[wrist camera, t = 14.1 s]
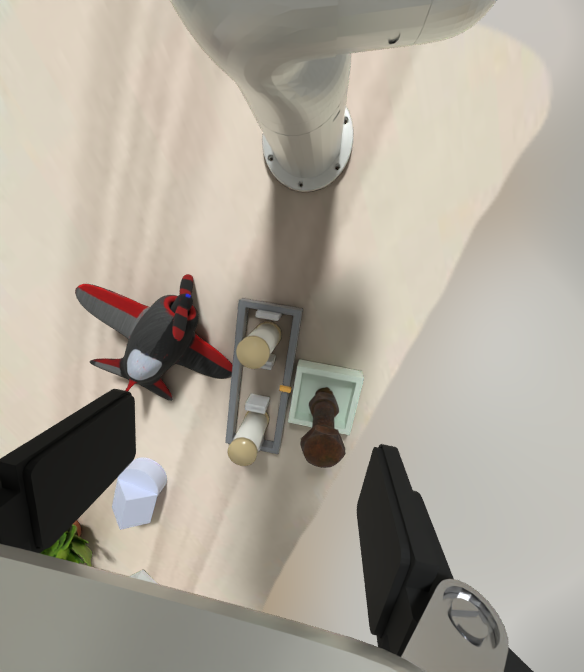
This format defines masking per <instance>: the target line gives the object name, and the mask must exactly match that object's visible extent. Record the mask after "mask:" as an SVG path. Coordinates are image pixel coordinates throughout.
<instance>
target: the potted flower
mask: <svg viewBox="0 0 584 672" xmlns="http://www.w3.org/2000/svg"><path fill="white" fill-rule="evenodd" d="M81 533H82V532H81V527H80V524H79V523H78V521H77V520H76V521H75V522H74V523H73V525H72V526H71V527H70V528H69V529H68V530H67V531H66V532H65V533H64V534H63V535H62V536H61V537H60V538H59V539H58V540H57V541H56V542H55V543H54V544H53V545H52V546H51V547H49V548H47V549H44V550H43V551H42V552H41V553H40V554H43V555H47V556H51V557H55V558H59V559H63V560H67V561H71V562H75V563H79V562H81V563H84V562H85V563H87V566H90V567H92V565H91V557H92V551H91V550H90V549H89V548H88V547H87V546H86V545H85V543H87V544H88V543H89V542H88V541H86V540H84V539H82V538H81V537H80V535H81ZM72 549H73V550H75V552H76V553H75V552H74V551H72ZM77 554H79V555H80V557H82V558H83V560H84V561H83V560H82V559H81V558H80V557H79V556H78V555H77Z"/></svg>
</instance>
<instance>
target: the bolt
mask: <svg viewBox="0 0 584 672" xmlns="http://www.w3.org/2000/svg"><path fill="white" fill-rule="evenodd" d="M309 409H310V412H311V414H312V416H313V423H312V429H311V430H309V431H308V432H307V433H306V434H305V435H304V436H303V437H302V438H301V443H300V444H301V448H302V451H303V454H304V456H305V458H306V460H307V461H308V462H309V463H311V464H312V465H315V466H318V467H324V468H326V467H332V466H334V465H336V464H337V463H338V462H339V461H340V460H341V459H342V458H343V457H344V455H345V447H344V444H343V441H342V439H341V436H340V433H339V431H338V429H335V426H334V418H335V417H336V416H337V414H338V413H339V407H338V404H337V401H336V398H335V396H334V395H333V392H332V390H330V388H328V387H325V388H320V389H318V390H317V391H316V393H315V396H314V397H313V398H312V399H311V400H310V401H309Z"/></svg>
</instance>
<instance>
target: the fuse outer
mask: <svg viewBox="0 0 584 672" xmlns="http://www.w3.org/2000/svg"><path fill="white" fill-rule="evenodd" d="M268 423H269V415H268V413H267V412H265V414H262V413H257V412H252V411H247V413H246V415H245V418H244V420H243V422H242V424H241V426H240V428H239V430H238V432H237V434H236V436H235V437H234V439H233V441H232V442H231V444H230V446H229V448H228V456H229V458H230V459H231V461H232V462H234V463H235V464H237V465H240V466H248V465H251V464H252V463H253V462H254V461H255V459H256V456H257V453H258V449H259V446H260V443H261V440H262V438H263V435H264V432H265V429H266V427H267V425H268Z"/></svg>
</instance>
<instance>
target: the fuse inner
mask: <svg viewBox="0 0 584 672" xmlns="http://www.w3.org/2000/svg"><path fill="white" fill-rule="evenodd" d="M280 340H281V330H280V328H279V327H278V326H277V325H276V324H275V323H273V322H270V321H266V322H262V323H261V324H259V325H258V326H257V327H256V329H255V330H254V331H253V332H252V333H250V334H249V335H248V336H247V337H245V338H244V339H243V340H242V341H241V342H240V343H239V344H238V346H237V349H236V354H237V358H238V360H239V361H240V363H241V364H242V365H244V366H245V367H247V368H250V369H257V368H260V367H262V366H263V365H265V363H266V362H267V360H268V359H269V356H270V354H271V353H272V351H273V350H274V348H275V347H276V345H277V344H278V343H279V342H280Z"/></svg>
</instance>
